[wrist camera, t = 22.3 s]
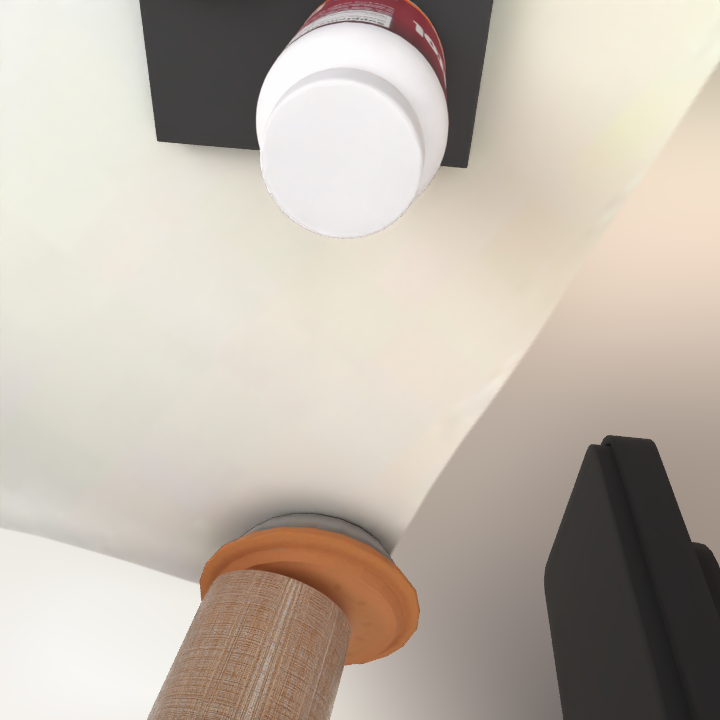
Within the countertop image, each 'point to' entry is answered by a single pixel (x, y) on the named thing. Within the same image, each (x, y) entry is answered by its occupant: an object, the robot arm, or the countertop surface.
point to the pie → (331, 576)
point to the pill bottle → (354, 116)
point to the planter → (258, 653)
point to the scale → (259, 52)
